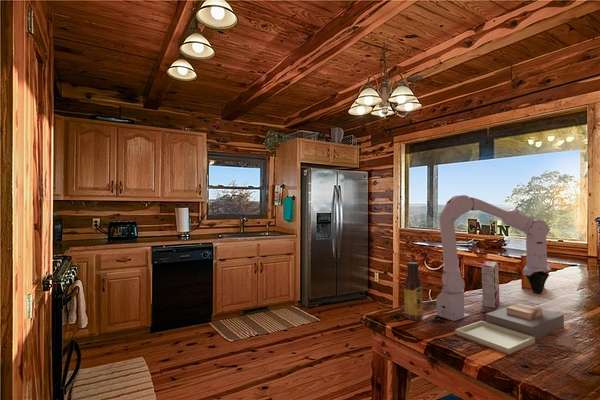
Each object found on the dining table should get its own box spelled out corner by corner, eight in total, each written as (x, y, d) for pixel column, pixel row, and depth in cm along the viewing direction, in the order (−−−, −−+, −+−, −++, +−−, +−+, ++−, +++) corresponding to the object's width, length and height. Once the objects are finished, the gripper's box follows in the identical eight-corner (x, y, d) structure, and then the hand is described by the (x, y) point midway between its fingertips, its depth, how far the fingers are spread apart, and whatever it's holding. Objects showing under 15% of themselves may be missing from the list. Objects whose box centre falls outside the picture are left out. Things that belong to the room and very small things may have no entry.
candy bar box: (485, 299, 137) (484, 260, 137) (499, 301, 134) (498, 261, 134) (481, 306, 128) (480, 265, 128) (496, 309, 125) (495, 266, 125)
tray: (509, 354, 88) (508, 348, 88) (455, 334, 102) (455, 329, 102) (535, 342, 95) (534, 337, 95) (481, 325, 109) (481, 320, 109)
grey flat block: (532, 340, 96) (532, 327, 96) (486, 325, 108) (485, 313, 108) (563, 326, 106) (563, 314, 106) (517, 314, 118) (517, 303, 118)
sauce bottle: (421, 322, 113) (419, 265, 113) (402, 319, 116) (401, 263, 116) (424, 316, 118) (423, 262, 118) (407, 313, 121) (406, 260, 122)
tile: (529, 319, 102) (529, 313, 102) (506, 313, 108) (506, 307, 108) (542, 314, 106) (542, 308, 106) (519, 309, 112) (519, 303, 112)
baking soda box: (528, 284, 159) (527, 252, 159) (544, 287, 154) (543, 253, 154) (521, 288, 153) (520, 254, 153) (538, 291, 148) (537, 256, 148)
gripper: (539, 257, 105) (540, 299, 105) (560, 253, 112) (561, 292, 112) (515, 255, 111) (516, 294, 111) (536, 251, 118) (537, 288, 118)
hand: (537, 293), depth 112 cm, fingers closed
